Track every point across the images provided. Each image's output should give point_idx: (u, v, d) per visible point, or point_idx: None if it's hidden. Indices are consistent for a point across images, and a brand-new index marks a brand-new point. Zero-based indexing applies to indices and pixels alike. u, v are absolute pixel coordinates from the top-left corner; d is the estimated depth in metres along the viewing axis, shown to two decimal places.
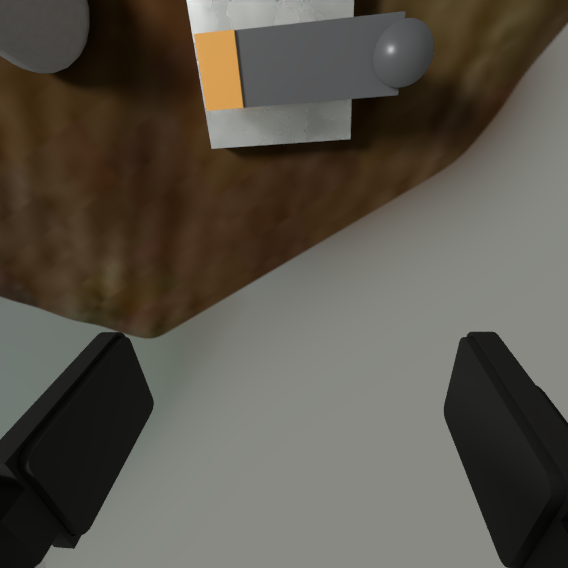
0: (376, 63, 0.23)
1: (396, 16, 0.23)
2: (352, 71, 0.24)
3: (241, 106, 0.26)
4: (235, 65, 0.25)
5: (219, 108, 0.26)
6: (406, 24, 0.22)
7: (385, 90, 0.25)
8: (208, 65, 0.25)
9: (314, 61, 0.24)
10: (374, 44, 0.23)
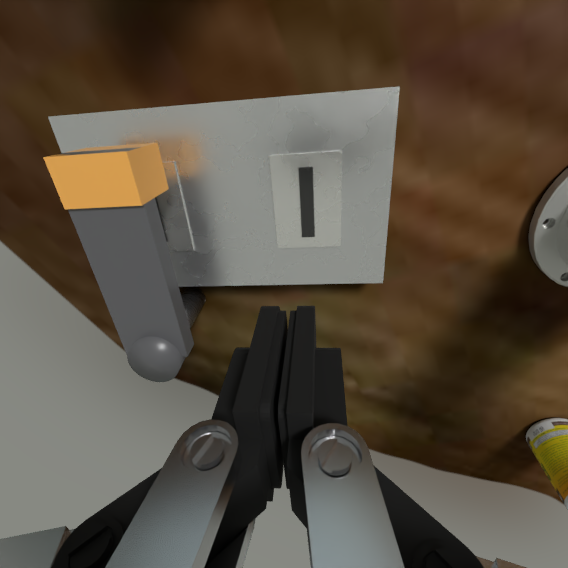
0: (141, 344, 0.24)
1: (183, 351, 0.25)
2: (135, 320, 0.24)
3: (65, 207, 0.20)
4: (107, 203, 0.20)
5: (53, 176, 0.19)
6: (173, 363, 0.25)
7: (128, 346, 0.26)
8: (97, 167, 0.18)
9: (134, 287, 0.23)
10: (160, 336, 0.25)
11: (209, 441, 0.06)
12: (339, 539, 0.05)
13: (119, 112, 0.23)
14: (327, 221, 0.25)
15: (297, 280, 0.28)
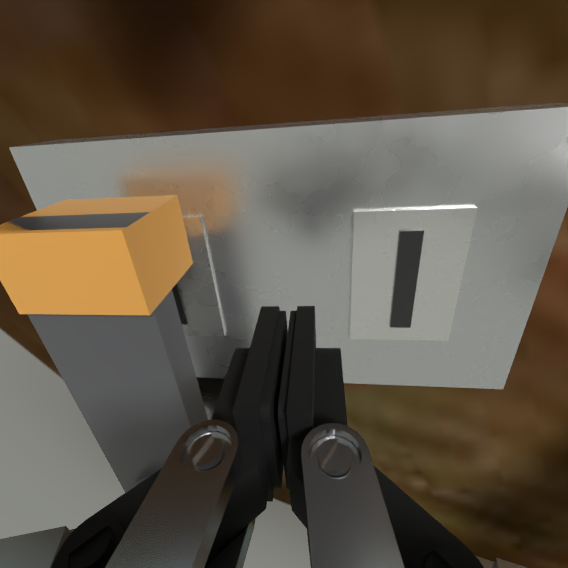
0: None
1: None
2: (138, 457, 0.16)
3: (20, 311, 0.12)
4: (89, 310, 0.11)
5: None
6: None
7: (127, 484, 0.17)
8: (69, 254, 0.10)
9: (137, 419, 0.14)
10: None
11: (209, 441, 0.06)
12: (339, 539, 0.05)
13: (117, 142, 0.14)
14: (433, 307, 0.16)
15: (373, 378, 0.19)
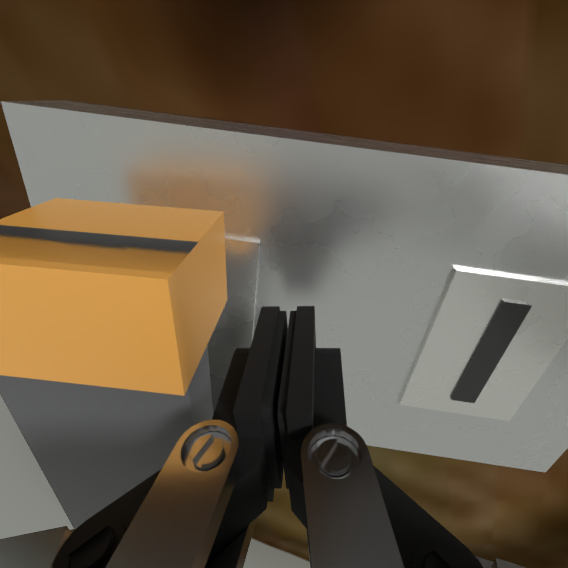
0: None
1: None
2: None
3: None
4: (89, 379, 0.07)
5: None
6: None
7: None
8: (71, 302, 0.06)
9: None
10: None
11: (209, 441, 0.06)
12: (338, 539, 0.05)
13: (168, 127, 0.10)
14: (507, 386, 0.14)
15: (409, 446, 0.17)
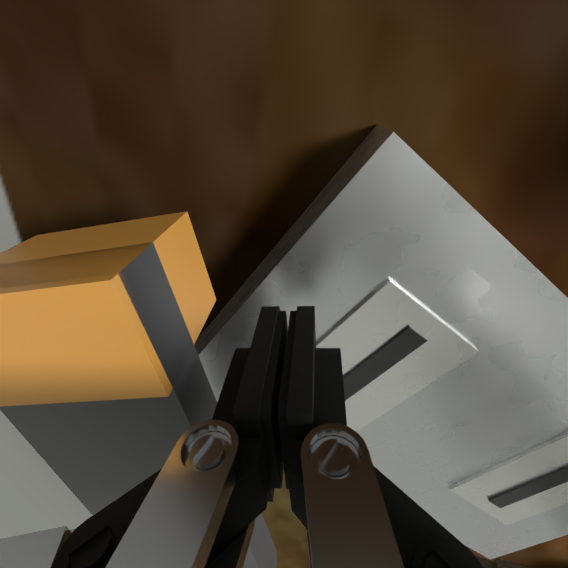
0: None
1: None
2: None
3: None
4: (79, 395, 0.08)
5: None
6: None
7: None
8: (36, 323, 0.07)
9: None
10: None
11: (209, 441, 0.06)
12: (339, 539, 0.05)
13: (504, 242, 0.11)
14: (529, 505, 0.18)
15: None
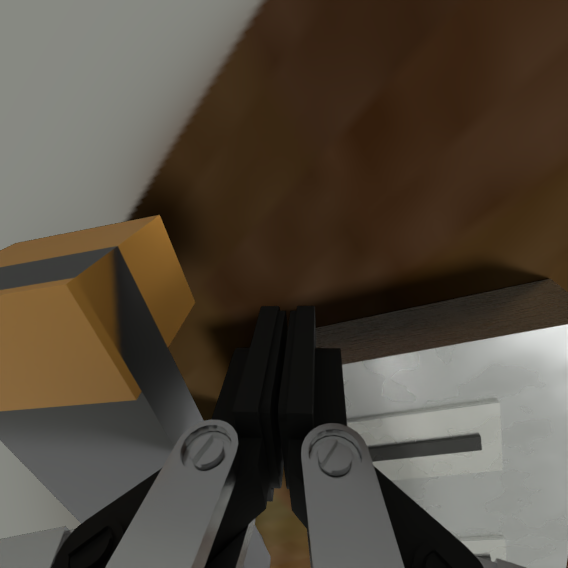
0: None
1: None
2: None
3: None
4: (49, 401, 0.08)
5: None
6: None
7: None
8: None
9: None
10: None
11: (209, 442, 0.06)
12: (339, 539, 0.05)
13: None
14: None
15: None
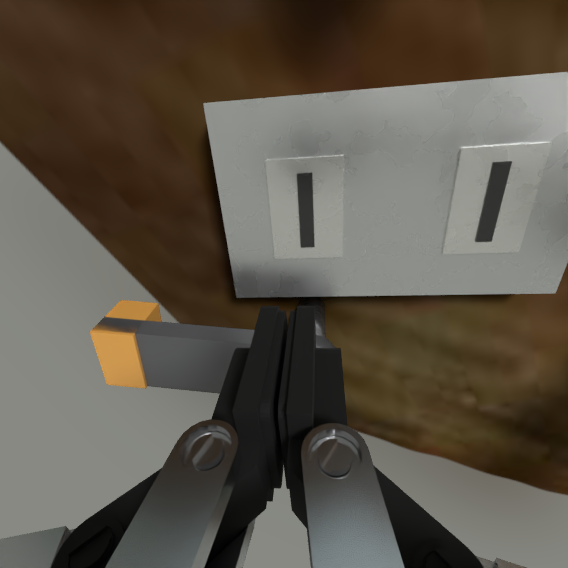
0: None
1: None
2: None
3: (143, 387, 0.24)
4: (136, 359, 0.23)
5: (120, 385, 0.24)
6: None
7: None
8: (107, 355, 0.23)
9: (219, 367, 0.23)
10: None
11: (209, 442, 0.06)
12: (339, 539, 0.05)
13: (290, 97, 0.19)
14: (511, 224, 0.22)
15: (455, 289, 0.25)
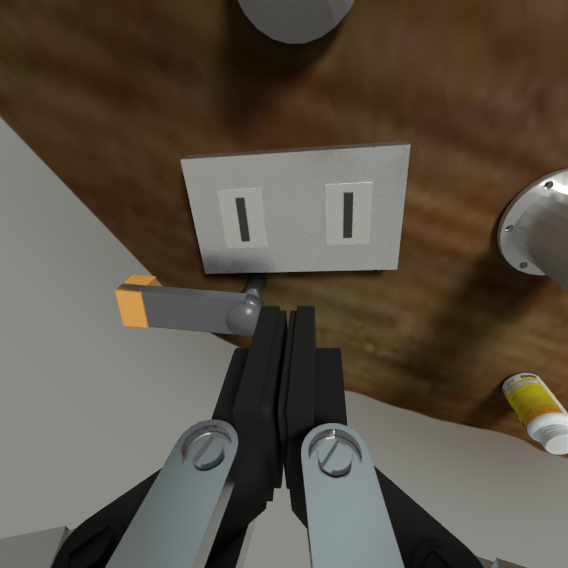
0: (228, 323, 0.38)
1: (239, 301, 0.37)
2: (216, 320, 0.39)
3: (146, 327, 0.40)
4: (142, 308, 0.38)
5: (132, 325, 0.40)
6: (243, 310, 0.37)
7: None
8: (124, 305, 0.39)
9: (192, 313, 0.38)
10: (228, 311, 0.38)
11: (209, 442, 0.06)
12: (339, 539, 0.05)
13: (228, 157, 0.35)
14: (361, 227, 0.37)
15: (337, 267, 0.40)
